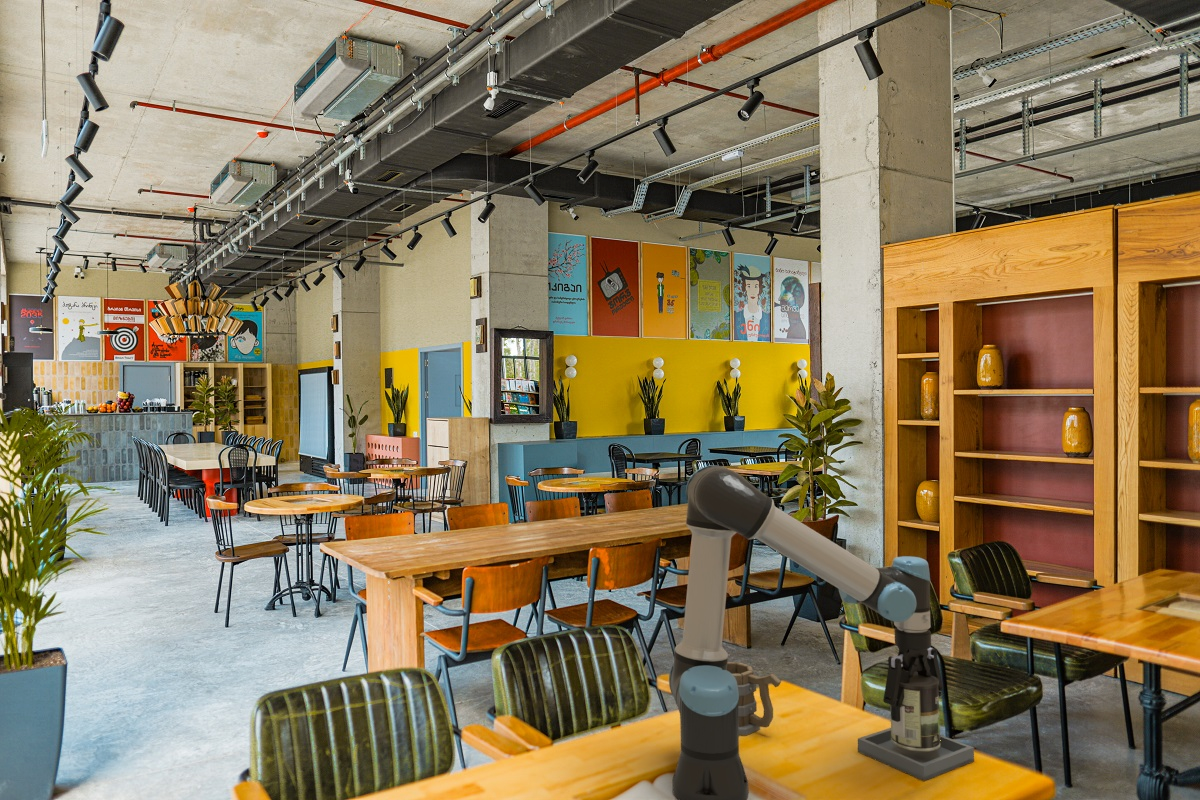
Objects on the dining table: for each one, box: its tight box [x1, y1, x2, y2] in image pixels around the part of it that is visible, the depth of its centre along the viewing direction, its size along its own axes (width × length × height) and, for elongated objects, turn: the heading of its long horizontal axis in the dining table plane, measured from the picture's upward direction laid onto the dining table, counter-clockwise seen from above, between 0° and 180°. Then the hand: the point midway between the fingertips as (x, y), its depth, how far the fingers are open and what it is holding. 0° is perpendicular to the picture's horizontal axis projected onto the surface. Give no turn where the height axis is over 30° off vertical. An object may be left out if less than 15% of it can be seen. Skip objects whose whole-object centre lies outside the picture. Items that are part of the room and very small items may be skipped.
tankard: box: [727, 661, 782, 736], centre depth 192 cm, size 20×13×15 cm, turn 42°
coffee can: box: [889, 671, 941, 752], centre depth 176 cm, size 10×10×14 cm
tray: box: [857, 727, 975, 782], centre depth 176 cm, size 17×17×3 cm
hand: (914, 729), depth 176 cm, fingers closed on coffee can, 10 cm apart
